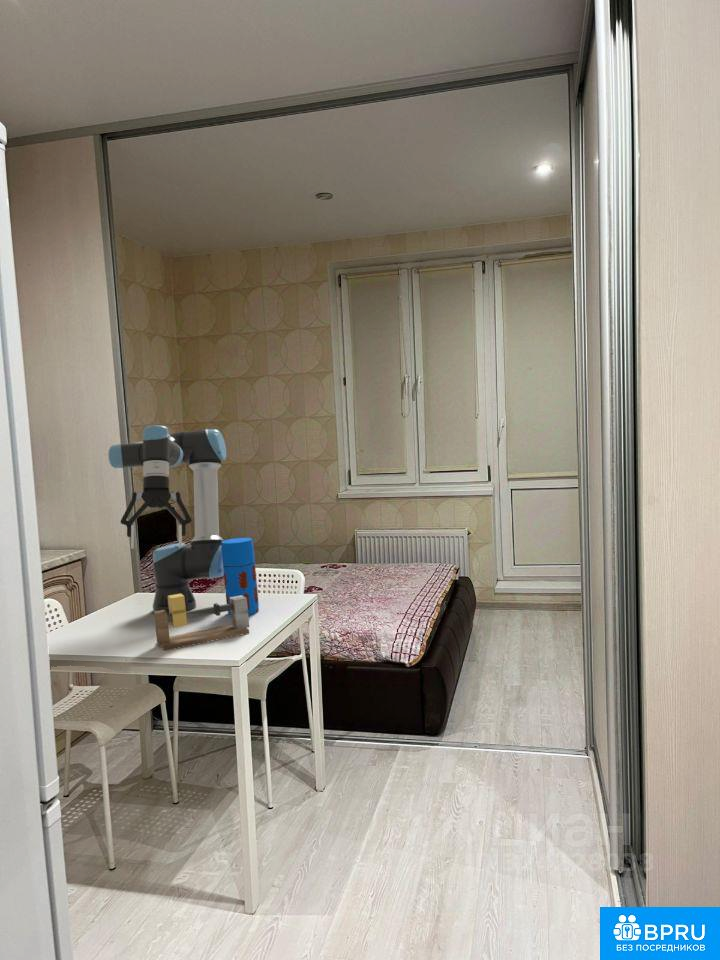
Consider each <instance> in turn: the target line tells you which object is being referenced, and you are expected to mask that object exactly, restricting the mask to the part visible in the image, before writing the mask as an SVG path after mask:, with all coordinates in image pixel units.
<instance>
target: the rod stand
mask: <svg viewBox="0 0 720 960" xmlns="http://www.w3.org/2000/svg"><path fill="white" fill-rule="evenodd" d="M212 605H213V606H210V607H204V608H203V607H202V608H198V609H191V610H188V611H186V618H187V620H188V619H193V618H194V619H195V618H198V617H203V616H207V615H213V614H214V615H216V616H217V617H219V616H221V613H225V612H228V611H231V616H230V617H231V624H227V625H222V626H217V627H211V628H207V629H202V630H197V631H191V632H185V633H181V634H175V635H172V636H170V627H169V623H170V622H173V620H172V614H171V615H169V614H167V612H166V611H165V610H161V611H155V612H153V615H154V625H155V633H156V634H155V635H156V644H157V645H158V646H159V647H160V648H161V650H163V651H171V650H175V649H174V648H176V649H179V648H178V647H181V648H184V647H183V646H185V647H190V646H194V645H193V644H195V645H198V643H200V644H204V643H203V642H205V643H208V642H207V641H210V642H212V641H211V640H215V641H217V640H216V639H219V640H223V639H222V638H224V639H227V638H226V637H229V638H231V637H230V636H234V637H237V636H236V635H239V636H242V635H241V634H244V635H247V634H250V629H249V628H250V619H249V615H248V606H247V598H246V597H244V596H242V595H241V596H235V597H230V604H227V603H225V604H219V603H213V604H212ZM189 645H190V646H189Z"/></svg>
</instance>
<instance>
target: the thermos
mask: <svg viewBox="0 0 720 960" xmlns="http://www.w3.org/2000/svg"><path fill="white" fill-rule="evenodd" d="M221 550H222V561H223V571H224V576H223V581H224V591H225V601H226V603H225V604H230V597H235V596H241V595H242V596H244V597H246V598H247V606H248V616H252V615H254V614H257V613H259V611H260V610H259V608H260V606H259V605H260V604H259V593H258V591H259V590H258V583H257V582H258V581H257V572H256V570H257V569H256V561H255V559H256V558H255V549H254V541H253V538H252V537H240V538H239V537H238V538H230V539H225V540H224V541H222V542H221ZM227 614H228V616H229V615H230V617H231V611H227Z"/></svg>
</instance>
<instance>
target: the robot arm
mask: <svg viewBox="0 0 720 960" xmlns="http://www.w3.org/2000/svg"><path fill="white" fill-rule="evenodd" d="M107 454H108V461H109V464H110V466H111V467H112V468H114V469H127V468H137V467H142V476H144V477H143V479H142V493H139V492H136V491H134V492H133V491H132V494H131V500H130V502H129V504H128V506H127V508H126V510H125V512H124V513H123V516H122V517H121V518H120V524H121V525H124V526H126V536H127V538H130V548H131V550H132V549H133V550H134V549H135V525H133V524H134V522H136V521H137V519H138V518H139V517H140V516H141V515H142V513H144V511H145V510H146V509H148V508H150V509H155V508H158V509H162V508H164V507H165V509H166V510H167V511H168V512H169V513H170V514H171V515H172V517H174V519H175V520H177V522H178V523H179V525H178V542H177V543H174V544H172V543H171V544H167V545H165V546H161V547H159V548H156V549H154V551H153V553H152V564H153V574H154V581H155V582H154V583H155V594H154V599H153V603H152V612H153V613H154V612H155V611H161V610H165V611H166V612H167V615H169V605H168V596H169V595H175V594H182V595H184V598H185V608H186V612H187V611H192V610H194V609H195V608H197V602H196V598H195V596H194V594H193V591H192V589H191V587H190V582H189V580H201V579H202V580H203V579H211V580H213V579H215V578H221V577H224V571H223V561H222V550H221V542H222V541H225V540H224V539H223V537H221V536H220V526H219V525H220V522H219V521H220V519H219V513H220V512H219V485H218V484H219V483H218V481H219V479H218V470H219V469H220V468H221V467H222V461H223V462H224V461H225V460H226V459H227V447H226V442H225V439H224V436H223V434H222V433H221V431H220V430H218V429H212V428H211V429H208V428H206V429H198V430H197V429H196V430H188V431H186V430H185V431H177V432H173V433H170V432H169V428H168V427H167V426H165V425H158V424H156V425H155V424H154V425H147V426H145V427H144V428H143V432H142V441H138V442H131V443H117V444H112V445H111V446H110V447H109V449H108V453H107ZM180 464H188V467H189V468H190V469H191V471H193V505H194V506H193V507H194V513H193V514H194V537H193V538H192V539H191V540H190V546H186V545H187V544H186V543H185V542H183V538H182V537H185V536H186V535H187V533H186V526H187V525H189V524H191V523H192V521H193V520H192V518H191V515H190V514H189V512H188V510H187V508H186V506H185V505H184V502H183V501H182V498H181V493H180V492H179V491H177V492H173V493H171V491H170V478H169V475H170V468H174V467H177V466H178V465H180ZM140 498H141V499H142V501H144V503H143V504H142V505H141V506H140V507H139V509H138V510H137V511H135V513H134V514H133V515H132V517H131V518H130V519H129V520H128V518H129V516H130V514H131V512H132V510H133V508H134V506H135V504H136V502H137V501H139V500H140ZM170 499H173V500H174V501H176V503H177V506H178V508H179V509H180V512H181V513H182V515H183V517H184V518H183V517H182V515H180V514H179V513H178V512H177V511H176V510H175V508H174V507H173V506H172V505H171V503H170V502H169V500H170Z"/></svg>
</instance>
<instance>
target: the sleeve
mask: <svg viewBox="0 0 720 960" xmlns="http://www.w3.org/2000/svg"><path fill="white" fill-rule="evenodd" d="M168 605H169V614H168V615H171V614H172V620H173V622H169V624H170V626H172V628H174V629H175V628H179V627H185V626H188V621H187V620H188V619H187V618H186V612H187V611H186V608H185V598H184V595H182V594H175V595H169V596H168Z"/></svg>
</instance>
